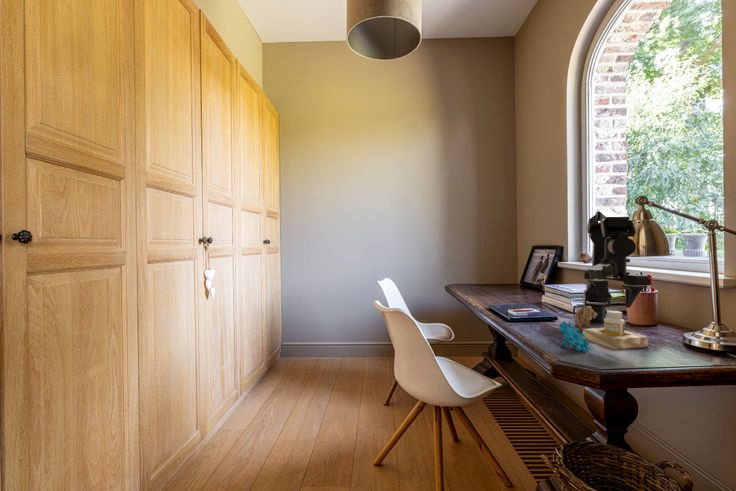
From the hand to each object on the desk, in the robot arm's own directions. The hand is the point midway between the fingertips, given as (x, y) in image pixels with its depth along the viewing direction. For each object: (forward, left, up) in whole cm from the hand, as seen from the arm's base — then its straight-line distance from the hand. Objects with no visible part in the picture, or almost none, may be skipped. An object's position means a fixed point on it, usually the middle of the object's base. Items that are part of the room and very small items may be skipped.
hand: (614, 304), depth 113 cm
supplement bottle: (0, 0, -12) cm, 12 cm away
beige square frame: (0, 0, -12) cm, 12 cm away
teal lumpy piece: (+17, +3, -12) cm, 21 cm away
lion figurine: (-5, -17, -12) cm, 22 cm away
